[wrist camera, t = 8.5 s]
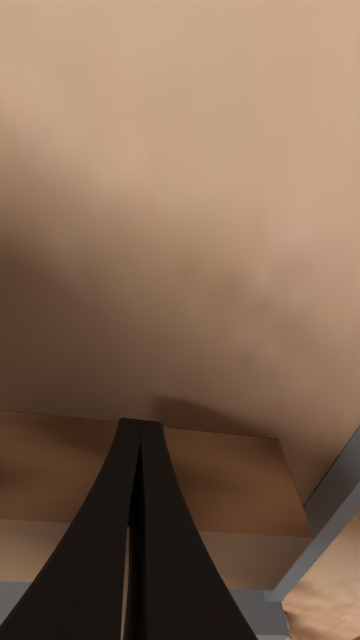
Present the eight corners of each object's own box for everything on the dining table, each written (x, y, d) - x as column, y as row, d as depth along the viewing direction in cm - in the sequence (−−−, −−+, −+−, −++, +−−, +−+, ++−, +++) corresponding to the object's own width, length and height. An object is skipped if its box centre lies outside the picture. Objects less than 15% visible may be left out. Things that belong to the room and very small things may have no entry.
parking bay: (-86, 564, 18) (-126, 636, 16) (-168, 360, 11) (-266, 431, 9) (268, 579, 21) (282, 642, 19) (382, 426, 14) (430, 493, 12)
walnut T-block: (3, 551, 18) (-33, 650, 15) (-14, 408, 13) (-79, 514, 9) (214, 560, 20) (225, 652, 16) (277, 439, 14) (313, 537, 11)
